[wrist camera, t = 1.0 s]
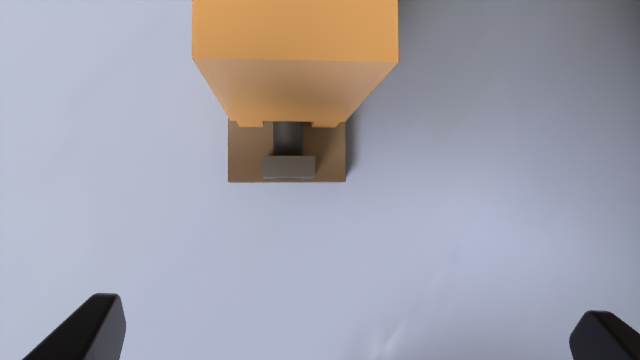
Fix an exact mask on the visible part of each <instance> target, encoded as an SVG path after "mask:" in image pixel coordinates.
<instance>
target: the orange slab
mask: <svg viewBox="0 0 640 360" xmlns="http://www.w3.org/2000/svg"><path fill="white" fill-rule="evenodd" d="M192 59H193V60H194V62H195V63H196V65H197V67H198V68H199V70H200V72H201V73H202V75H203V77H204V78H205V80H206V81H207V83H208V85H209V86H210V88H211V90H212V91H213V93H214V95H215V96H216V98H217V99H218V101H219V103H220V104H221V106H222V108H223V109H224V111H225V112H226V114H227V116H228V117H229V119H230V121H236V122H237V124H238V126H239V127H264V121H303V122H311V128H335V127H336V126H337V125H338V124H339V123H340V122H346V120H347V119H348V118H349V117H350V116H351V115H352V114H353V113H354V111H355V110H356V109H357V108H358V107H359V106H360V105H361V104H362V103H363V101H364V100H365V99H366V98H367V97H368V96H369V95H370V94H371V93H372V91H373V90H374V89H375V88H376V87H377V86H378V85H379V84H380V82H381V81H382V80H383V79H384V78H385V77H386V76H387V75H388V74H389V72H390V71H391V70H392V69H393V68H394V67H395V66H396V65H397V63H398V62H399V52H398V0H192Z"/></svg>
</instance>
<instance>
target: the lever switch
mask: <svg viewBox="0 0 640 360" xmlns="http://www.w3.org/2000/svg"><path fill="white" fill-rule="evenodd" d="M345 181H346V154H345V122H340V123H339V124H338V125H337V126H336V127H335V128H311V122H303V121H264V127H239V126H238V124H237V122H236V121H230V119H229V117H228V182H345Z"/></svg>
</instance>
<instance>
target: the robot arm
mask: <svg viewBox="0 0 640 360" xmlns="http://www.w3.org/2000/svg"><path fill="white" fill-rule="evenodd" d="M125 332H126V321H125V316H124V312H123V307H122V302H121V298H120V296H119V295H118V294H114V293H96V294H94V295H92V296H91V297H90V298H89V299H88V300H87V301H85V302H84V303H83V304H82V305H81V306H80V307H79V308H78V309H77V310H76V311H75V312H73V313H72V314H71V315H70V316H69V317H68V318H67V319H66V320H65V321H64V322H63V323H61V324H60V325H59V326H58V327H57V328H56V329H55V330H54V331H53V332H52V333H51V334H49V335H48V336H47V337H46V338H45V339H44V340H43V341H42V342H41V343H40V344H39V345H37V346H36V347H35V348H34V349H33V350H32V351H31V352H30V353H29V354H28V355H27V356H25V357H24V358H23V359H22V360H119V358H120V354H121V350H122V346H123V341H124V337H125ZM569 344H570V349H571V353H572V356H573V359H574V360H640V334H639V333H638V332H636V331H635V330H634V329H632V328H631V327H630V326H629V325H627V324H626V323H625V322H623V321H622V320H621V319H619V318H618V317H617V316H615V315H614V314H613V313H611V312H608V311H596V310H590V311H587V312H586V313H585V314H584V315H583V316H582V318H581V319H580V321H579V322H578V324H577V325H576V327H575V329H574V330H573V332H572V333H571V335H570V339H569Z"/></svg>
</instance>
